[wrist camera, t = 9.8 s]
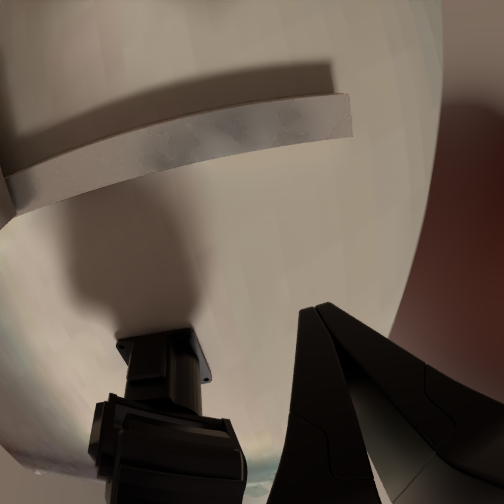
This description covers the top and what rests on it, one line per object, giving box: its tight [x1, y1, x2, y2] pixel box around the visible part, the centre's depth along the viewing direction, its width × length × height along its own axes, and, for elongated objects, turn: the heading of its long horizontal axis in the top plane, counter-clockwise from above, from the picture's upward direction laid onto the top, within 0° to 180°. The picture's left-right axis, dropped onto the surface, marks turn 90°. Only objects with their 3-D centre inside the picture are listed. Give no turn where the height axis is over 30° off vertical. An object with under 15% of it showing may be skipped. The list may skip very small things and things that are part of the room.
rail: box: [4, 93, 353, 217], centre depth 15 cm, size 2×31×2 cm, turn 99°
